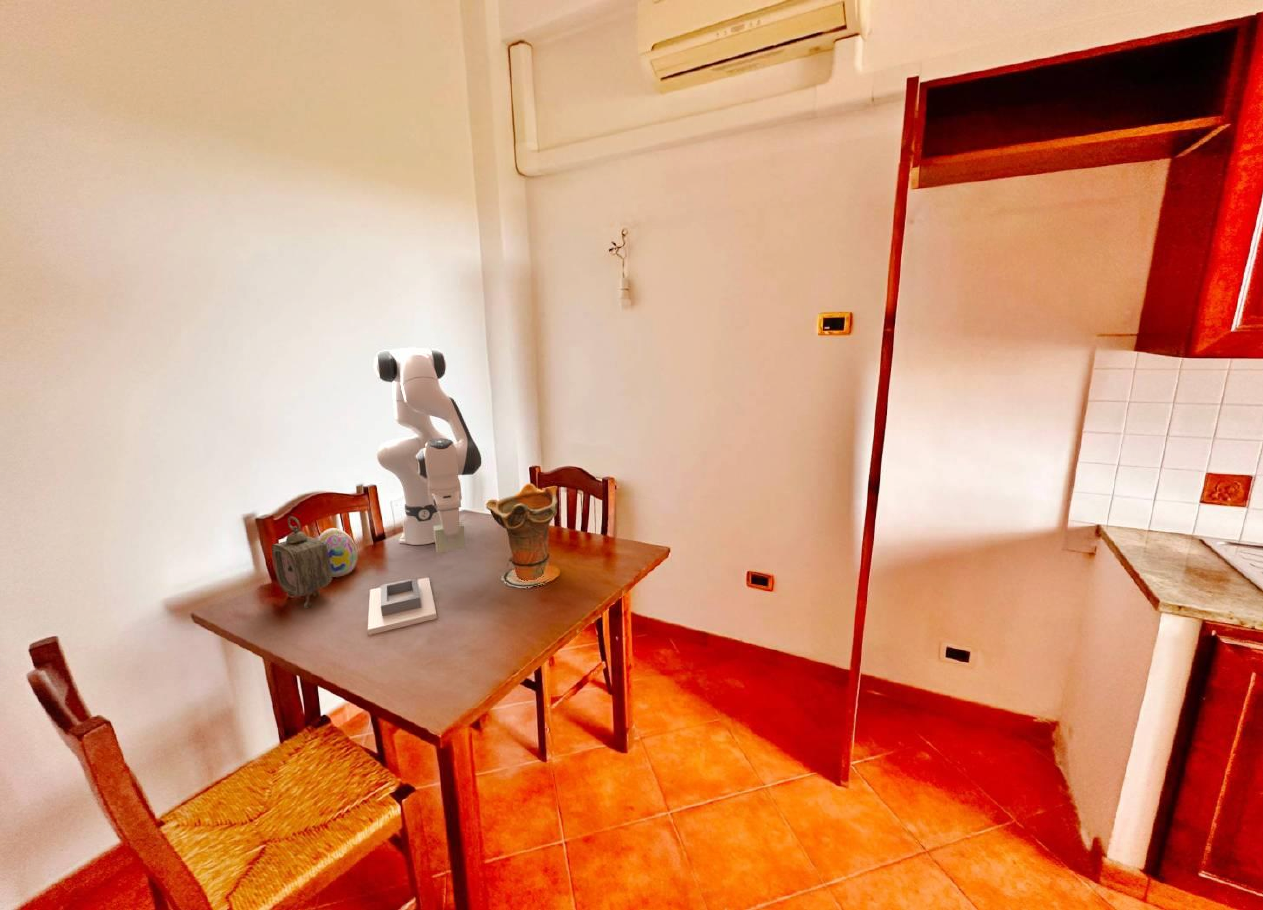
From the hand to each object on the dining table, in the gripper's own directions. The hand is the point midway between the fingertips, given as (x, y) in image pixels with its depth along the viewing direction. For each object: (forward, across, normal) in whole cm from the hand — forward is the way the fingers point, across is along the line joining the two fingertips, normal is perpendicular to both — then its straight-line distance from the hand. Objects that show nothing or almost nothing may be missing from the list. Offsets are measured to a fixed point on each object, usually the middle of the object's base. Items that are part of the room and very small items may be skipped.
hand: (450, 539), depth 147 cm
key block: (+3, 0, 0) cm, 3 cm away
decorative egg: (+15, -27, -33) cm, 45 cm away
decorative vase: (+14, +6, +22) cm, 27 cm away
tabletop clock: (+15, -11, -39) cm, 43 cm away
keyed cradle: (+14, +7, -15) cm, 22 cm away
